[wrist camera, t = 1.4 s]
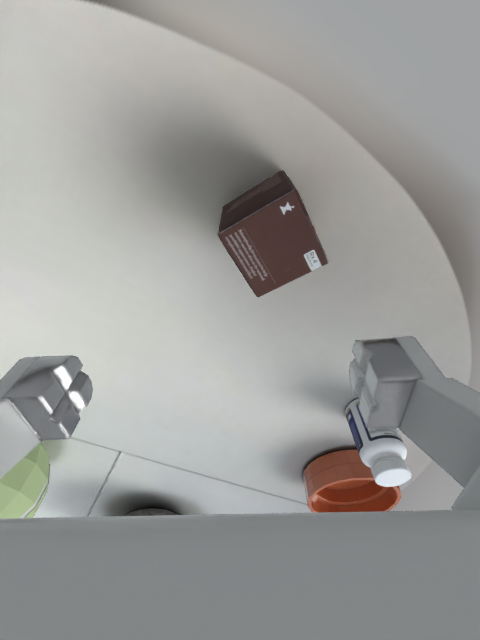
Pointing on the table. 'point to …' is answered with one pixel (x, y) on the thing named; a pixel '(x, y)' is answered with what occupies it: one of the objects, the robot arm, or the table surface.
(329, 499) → the clay bowl
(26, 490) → the green ball
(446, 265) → the table surface
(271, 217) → the box
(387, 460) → the pill bottle
